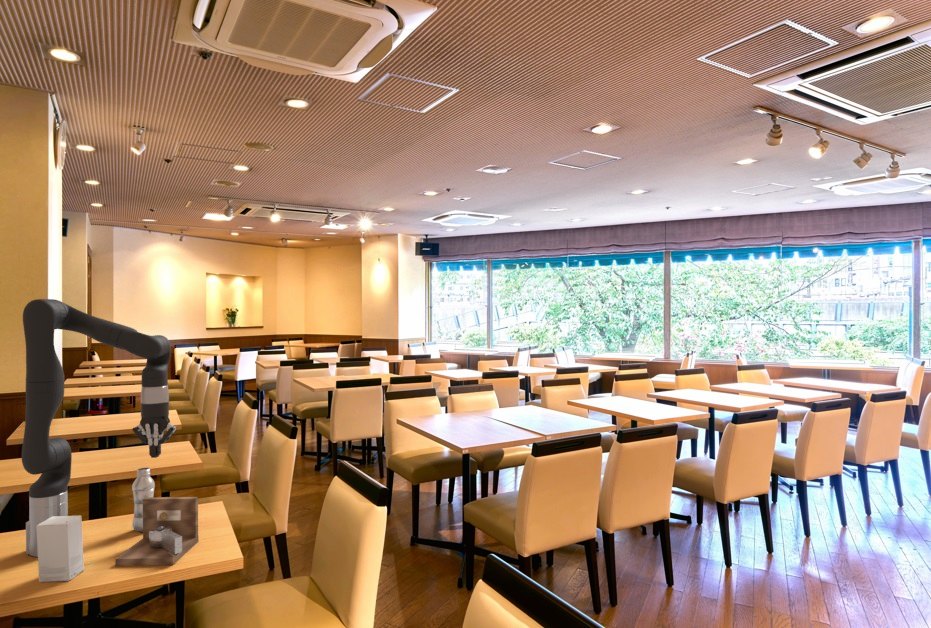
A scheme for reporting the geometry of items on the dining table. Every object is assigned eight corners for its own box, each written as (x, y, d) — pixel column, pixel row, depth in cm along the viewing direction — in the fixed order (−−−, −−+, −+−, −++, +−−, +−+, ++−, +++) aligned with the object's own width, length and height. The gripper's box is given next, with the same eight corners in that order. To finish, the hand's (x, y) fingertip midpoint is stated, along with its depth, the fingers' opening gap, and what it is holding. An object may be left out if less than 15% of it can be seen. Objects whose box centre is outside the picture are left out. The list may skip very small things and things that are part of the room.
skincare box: (84, 570, 155) (84, 514, 155) (68, 582, 148) (67, 523, 148) (53, 571, 154) (53, 515, 154) (35, 583, 148) (35, 524, 148)
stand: (115, 565, 158) (115, 516, 157) (146, 542, 174) (145, 497, 173) (173, 565, 158) (172, 515, 158) (198, 541, 174) (198, 496, 174)
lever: (145, 544, 166) (145, 527, 166) (166, 537, 171) (166, 521, 171) (167, 556, 158) (167, 539, 158) (189, 549, 163) (188, 532, 162)
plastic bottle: (145, 534, 180) (145, 472, 179) (127, 532, 181) (127, 471, 181) (160, 526, 186) (159, 466, 186) (142, 525, 187) (142, 465, 187)
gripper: (125, 402, 167) (126, 460, 168) (170, 402, 168) (171, 460, 168) (139, 398, 175) (140, 454, 175) (182, 398, 175) (182, 453, 175)
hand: (155, 457), depth 171 cm, fingers closed
